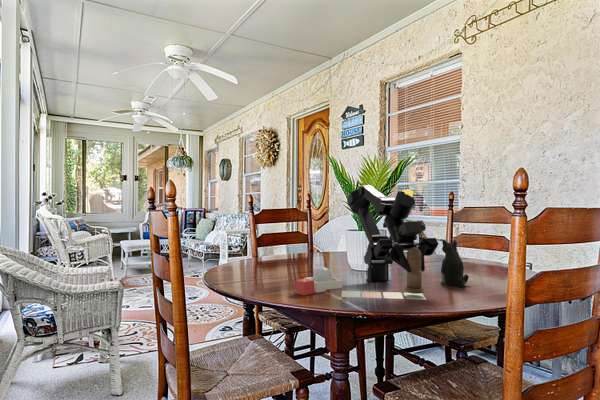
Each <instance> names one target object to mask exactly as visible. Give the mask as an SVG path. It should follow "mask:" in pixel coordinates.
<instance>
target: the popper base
mask: <svg viewBox="0 0 600 400" xmlns="http://www.w3.org/2000/svg"><path fill="white" fill-rule="evenodd" d="M332 277H333V281H324V282H316V281H314V293H315V294H316V293H327V292H329V290H334V289H335V290H336V289H337V290H338V289H343V280H342V279H339V278H336V277H335V276H332ZM305 278H306V279H310V280H314V276H309V277H308V276H307V277H305Z"/></svg>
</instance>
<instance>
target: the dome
mask: <svg viewBox="0 0 600 400" xmlns="http://www.w3.org/2000/svg"><path fill="white" fill-rule="evenodd" d="M313 277H314V281H316V282H324V281H333V277H334V276H333V274H332V272H331V270H330V269H329V268H328V267H323V266H322V267H319V268H317V269H316V270H315V272H314V276H313Z"/></svg>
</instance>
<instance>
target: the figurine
mask: <svg viewBox="0 0 600 400" xmlns="http://www.w3.org/2000/svg"><path fill="white" fill-rule="evenodd" d="M441 242H442V247H441V250H442V252H443V253H444V255H445V256H444V258H443V259H442V261H441V267H440V280H439V282H438V283H440V284H444V285H450V286H452V287H456V288H463V287H464V286H465V285H466V283H468V281H469V278H470V276H469V274H464V268H465V267H464V262H463V260H462V258H461V256H460V254H459V252H458V248H457V245H458V242H457V240H456V239H453V240H452V241H451V242H448V241H446V239H442V240H441Z"/></svg>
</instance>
